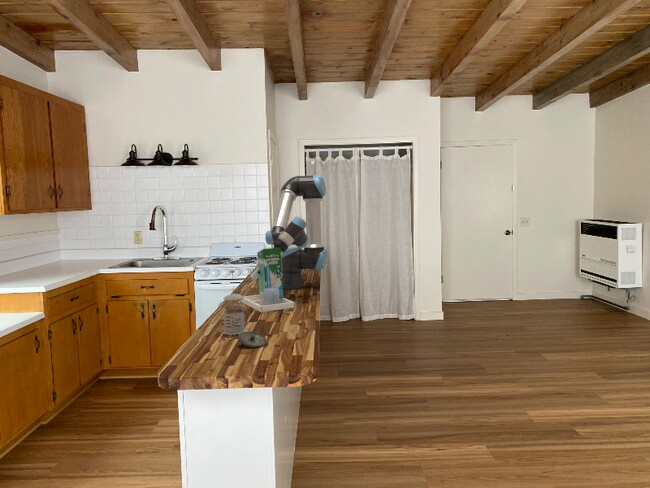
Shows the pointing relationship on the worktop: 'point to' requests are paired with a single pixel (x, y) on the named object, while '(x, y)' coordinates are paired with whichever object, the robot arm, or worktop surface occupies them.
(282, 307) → the tray
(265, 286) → the milk carton
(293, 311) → the worktop surface
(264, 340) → the lid
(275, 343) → the worktop surface
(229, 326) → the french press
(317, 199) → the robot arm
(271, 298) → the mug
